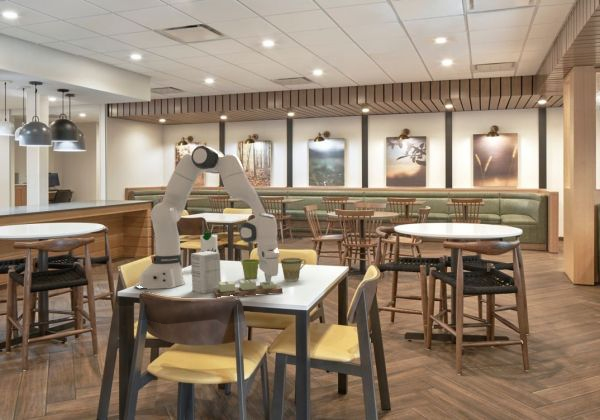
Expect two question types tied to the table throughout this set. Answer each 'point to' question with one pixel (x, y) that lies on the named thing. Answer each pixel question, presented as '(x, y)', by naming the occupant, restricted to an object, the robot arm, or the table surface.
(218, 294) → the frame
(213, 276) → the supplement box
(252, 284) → the tile two
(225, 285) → the tile one
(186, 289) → the table surface
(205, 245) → the milk carton
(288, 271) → the ceramic cup
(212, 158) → the robot arm
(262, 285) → the tile three
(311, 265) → the table surface
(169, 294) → the table surface
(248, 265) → the plant pot
